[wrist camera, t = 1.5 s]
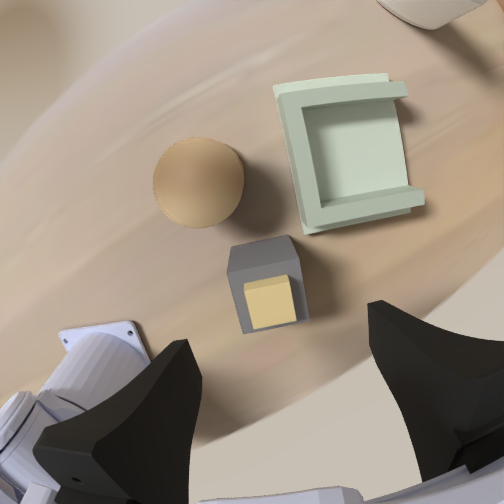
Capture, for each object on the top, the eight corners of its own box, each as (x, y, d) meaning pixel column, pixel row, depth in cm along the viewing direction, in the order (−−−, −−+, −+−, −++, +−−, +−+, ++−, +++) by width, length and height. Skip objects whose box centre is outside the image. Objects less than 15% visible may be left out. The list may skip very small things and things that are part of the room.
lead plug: (297, 286, 23) (312, 329, 17) (244, 298, 23) (242, 343, 18) (288, 234, 22) (301, 264, 16) (231, 246, 22) (225, 280, 16)
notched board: (406, 210, 21) (425, 219, 19) (302, 231, 22) (310, 244, 19) (382, 75, 18) (401, 66, 16) (272, 87, 19) (276, 77, 16)
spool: (251, 205, 21) (252, 217, 17) (180, 222, 22) (165, 236, 18) (235, 132, 20) (232, 127, 16) (162, 151, 20) (143, 151, 16)
